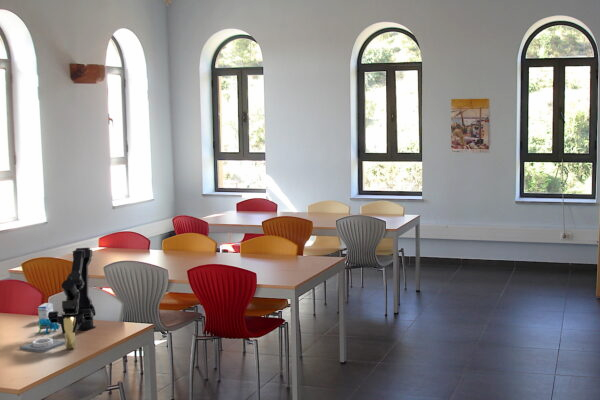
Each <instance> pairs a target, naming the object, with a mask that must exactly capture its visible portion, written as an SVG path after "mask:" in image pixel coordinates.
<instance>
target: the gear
mask: <svg viewBox="0 0 600 400" xmlns="http://www.w3.org/2000/svg"><path fill="white" fill-rule="evenodd" d="M38 327H39V329H38V332H37V333H39V334H40V333H41V331H42V330H45V331H44V334H45V335H47V334H48V331H49V330H50V331H52V330H53V331H56V330H59V329H60V327H61V324H58V323H51V322H50V320H49V319H46V320H45V319H44V318H43V319H42V320H41V319H40V321H39V320H38Z"/></svg>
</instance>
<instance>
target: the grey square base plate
mask: <svg viewBox="0 0 600 400" xmlns="http://www.w3.org/2000/svg"><path fill="white" fill-rule="evenodd" d="M64 345H66V344H65V340H60V339H59V340H58V339H53V338H52V337H51V338H50V337H44V338H43V337H42V338H37V339H34V340H33V341H32V342H30V343H26V344H25V345H21V346H19V350H20V351H21V350H22V351H28V352H36V353H45V352H49V351H51V350H53V349H57V348H58V347H61V346H64Z"/></svg>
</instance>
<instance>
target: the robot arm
mask: <svg viewBox="0 0 600 400" xmlns="http://www.w3.org/2000/svg"><path fill="white" fill-rule="evenodd" d="M72 258H73V259H72V266H71V271H70V273H69V274H68V275H67V277H66V280H64V281H63V282H62V284H61V289H62V291H63V293H64V295H65V296H66V297H65V300H62V302H61V309H62V312H63V313H62V312H61V313H60V312H59V311H58V310H56V311H55V310H53V312H49V313H48V318H49V320H50V322H51V323H58V325H60V327H61V333H62V334H63V335H65V333H64V322H63V318H64V317H69V316H72V317H74V319H75V320H74V333H75V334H76V333H77V331H78V330H80V331H90V330H92V329H95V328H96V327H97V326H96V325H94V317H95V316H96V315H97V314H96V309H95V305H94V304H93V300H92V299H91V298H90V296H89V265H90V264H91V262H92V258H93V249H91V248H90V247H77V248H75V250H72Z"/></svg>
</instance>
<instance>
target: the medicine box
mask: <svg viewBox="0 0 600 400" xmlns="http://www.w3.org/2000/svg"><path fill="white" fill-rule="evenodd" d="M53 311H54V303H52V302H45V303H42V304H41V305H39V306H38V307H37V313H38V322H39V321H40V319H41V320H42V319H43V318H44V319H45V320H46V319H49V318H48V313H49V312H53Z"/></svg>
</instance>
